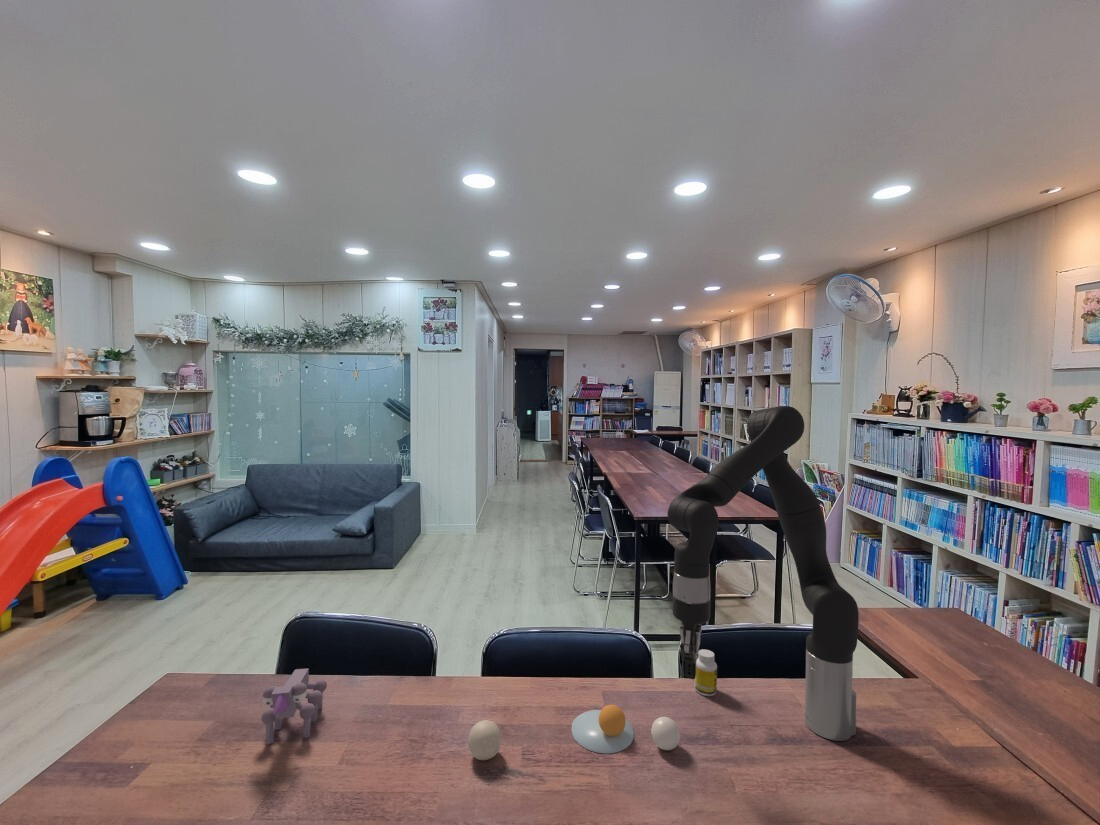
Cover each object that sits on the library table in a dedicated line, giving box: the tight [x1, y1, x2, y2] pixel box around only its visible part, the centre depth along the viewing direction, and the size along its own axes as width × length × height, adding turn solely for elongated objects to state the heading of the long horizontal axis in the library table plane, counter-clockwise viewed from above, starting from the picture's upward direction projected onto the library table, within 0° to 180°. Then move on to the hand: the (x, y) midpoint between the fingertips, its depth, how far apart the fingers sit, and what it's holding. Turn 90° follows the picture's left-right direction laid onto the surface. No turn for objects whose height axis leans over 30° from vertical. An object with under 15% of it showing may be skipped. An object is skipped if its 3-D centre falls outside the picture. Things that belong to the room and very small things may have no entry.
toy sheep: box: [261, 668, 328, 745], centre depth 103 cm, size 20×11×14 cm, turn 11°
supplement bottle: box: [694, 648, 718, 697], centre depth 121 cm, size 5×5×10 cm
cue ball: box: [650, 716, 681, 751], centre depth 101 cm, size 6×6×6 cm
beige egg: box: [467, 719, 502, 761], centre depth 98 cm, size 7×7×7 cm
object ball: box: [599, 704, 627, 737], centre depth 105 cm, size 6×6×6 cm
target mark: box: [571, 709, 635, 755], centre depth 106 cm, size 14×14×1 cm
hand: (690, 676), depth 98 cm, fingers closed
